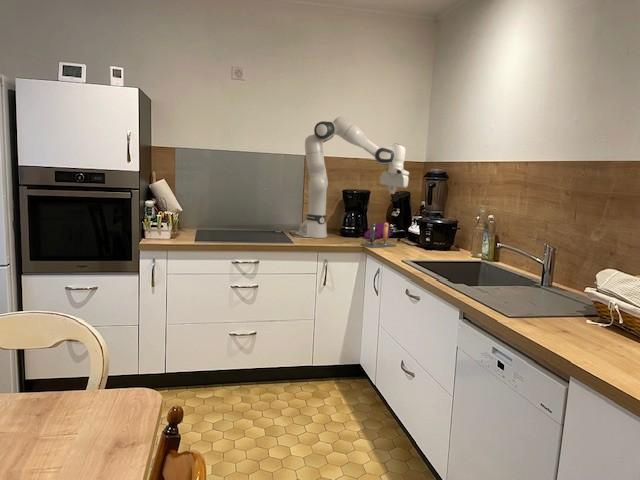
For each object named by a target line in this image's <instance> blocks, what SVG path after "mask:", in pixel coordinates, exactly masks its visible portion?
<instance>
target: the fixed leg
mask: <svg viewBox="0 0 640 480" xmlns="http://www.w3.org/2000/svg"><path fill="white" fill-rule="evenodd" d="M376 224H377V223H375V222H372V223H371V224H370V229H371V233H370V239H366V238H365V242H367V241H368V242H371V244H373V242H374V241H375V227H376Z"/></svg>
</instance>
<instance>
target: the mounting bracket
mask: <svg viewBox="0 0 640 480" xmlns="http://www.w3.org/2000/svg"><path fill="white" fill-rule="evenodd" d="M375 224H376V227H375V239H377V238H380V239H383V230H384V223H380V222H377V223H375ZM370 233H371V228H369V229H368V230H367V231H365V232H364V238H365V240H366V239H370ZM390 236H391V229H390V225H389V226H388V236H387V240H388V239H389V238H390ZM375 239H374V240H375Z"/></svg>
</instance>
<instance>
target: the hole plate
mask: <svg viewBox="0 0 640 480" xmlns="http://www.w3.org/2000/svg"><path fill="white" fill-rule="evenodd" d="M360 246H362V247H366V248H371V249H378V248H379V249H380V248H392V247H393V248H394V247H396V246H397V244H396V243H395V244H394V243H391V242H388V240H387V241H385V243H384V241H379V240H374V242H373V244H371V242H368V241H363V242H360Z"/></svg>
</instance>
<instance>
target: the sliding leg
mask: <svg viewBox="0 0 640 480" xmlns="http://www.w3.org/2000/svg"><path fill="white" fill-rule="evenodd" d="M383 224H384V230H383V239H382V238H379V239H378V241H384V243H385V241H387V242H388V239H387V236H388V226H389V227H390V225H389V223H388V222H384V223H383Z"/></svg>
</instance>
